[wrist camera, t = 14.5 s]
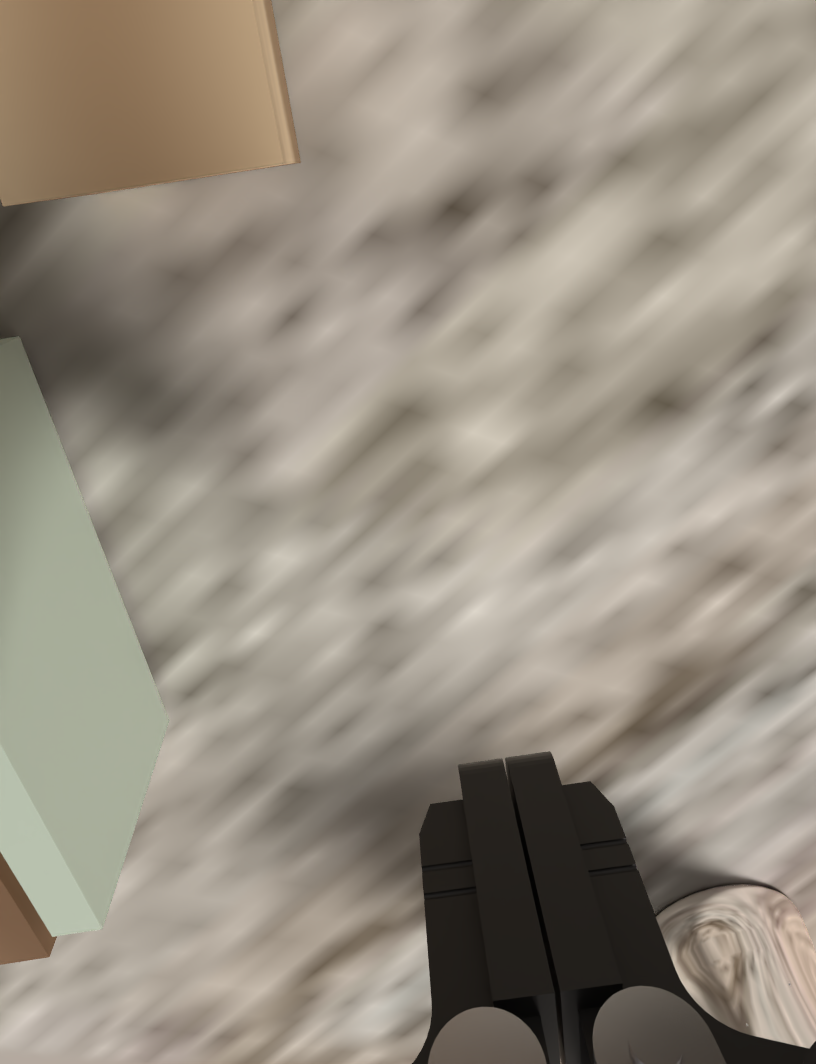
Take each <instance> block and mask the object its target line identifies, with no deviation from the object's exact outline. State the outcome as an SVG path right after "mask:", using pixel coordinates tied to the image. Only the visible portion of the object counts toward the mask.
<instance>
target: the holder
mask: <svg viewBox="0 0 816 1064" xmlns="http://www.w3.org/2000/svg"><path fill="white" fill-rule="evenodd" d="M56 938H57V936H55V937H52V935H51V934H50V932H49V931H48V929H47V927H46V926H45V924H44V922H43V921H42V919H41V917H40V916H39V914H38V913H37V911H36V909H35V908H34V906H33V904H32V903H31V901H30V899H29V898H28V896H27V895H26V893H25V891H24V890H23V888H22V886H21V885H20V883H19V881H18V880H17V878H16V877H15V875H14V873H13V872H12V870H11V868H10V867H9V865H8V863H7V862H6V860H5V859H4V857H3V855H2V854H1V852H0V965H1V964H8V963H14V962H21V961H27V960H33V959H40V958H46V957H49V956H50V954H51V951H52V948H53V946H54V943H55V940H56Z"/></svg>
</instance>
